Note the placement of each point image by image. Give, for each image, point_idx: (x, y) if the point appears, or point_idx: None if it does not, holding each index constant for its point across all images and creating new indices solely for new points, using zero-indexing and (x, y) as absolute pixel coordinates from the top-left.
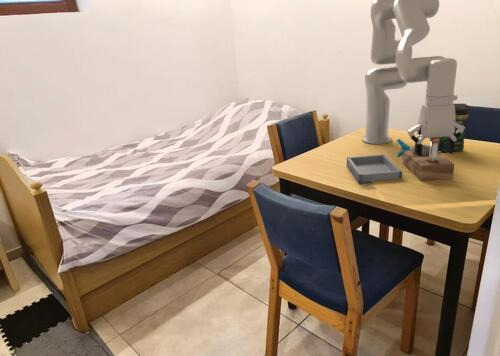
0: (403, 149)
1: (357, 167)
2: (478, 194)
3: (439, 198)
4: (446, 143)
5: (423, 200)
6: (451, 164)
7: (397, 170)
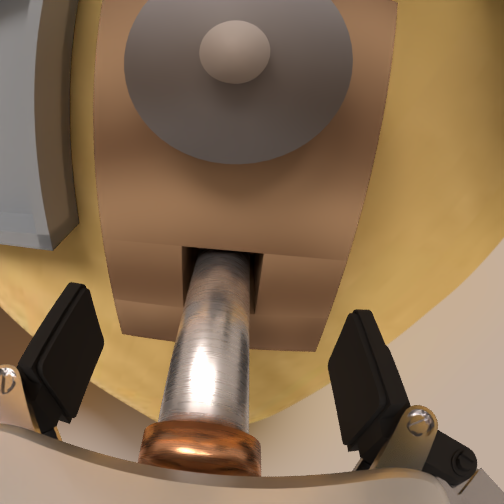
0: None
1: None
2: (303, 374)
3: None
4: (368, 372)
5: (125, 365)
6: (298, 349)
7: (36, 224)
